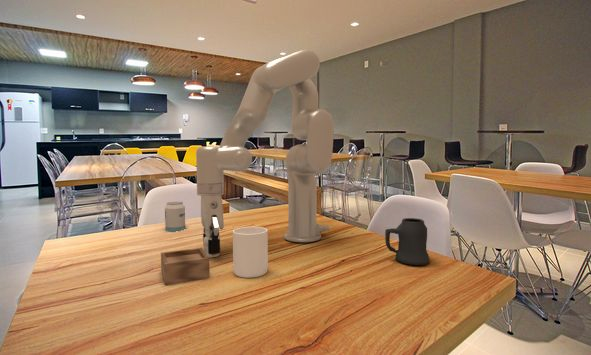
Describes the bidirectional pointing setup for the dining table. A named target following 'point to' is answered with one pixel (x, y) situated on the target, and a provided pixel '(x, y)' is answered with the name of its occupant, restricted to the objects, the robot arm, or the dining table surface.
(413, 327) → the dining table surface
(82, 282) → the dining table surface
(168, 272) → the walnut box
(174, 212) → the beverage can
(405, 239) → the mug
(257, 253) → the mug
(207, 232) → the pill bottle
